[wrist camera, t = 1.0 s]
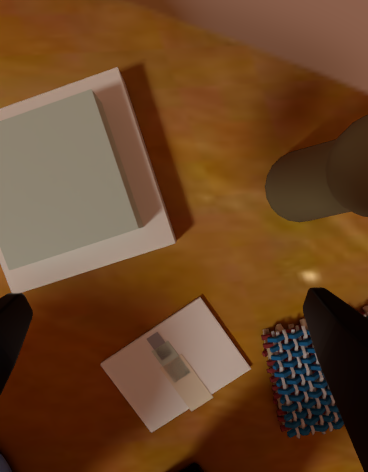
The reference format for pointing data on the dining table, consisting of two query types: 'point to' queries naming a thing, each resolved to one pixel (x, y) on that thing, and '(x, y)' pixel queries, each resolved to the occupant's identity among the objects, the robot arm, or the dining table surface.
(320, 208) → the brown tapered knobbed post
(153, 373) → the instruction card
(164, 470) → the dining table surface
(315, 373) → the woven mat
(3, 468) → the water jug
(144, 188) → the tower base
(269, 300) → the dining table surface
